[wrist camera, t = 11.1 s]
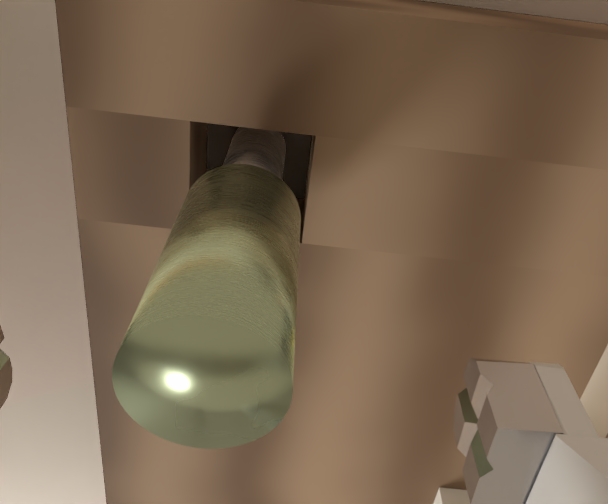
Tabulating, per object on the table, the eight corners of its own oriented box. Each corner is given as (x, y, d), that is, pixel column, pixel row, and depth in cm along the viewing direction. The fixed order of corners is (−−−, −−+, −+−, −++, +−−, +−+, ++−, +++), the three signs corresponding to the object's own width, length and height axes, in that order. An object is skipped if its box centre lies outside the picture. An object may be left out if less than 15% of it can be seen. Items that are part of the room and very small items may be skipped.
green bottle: (211, 183, 20) (116, 440, 10) (214, 96, 18) (106, 305, 9) (299, 193, 20) (283, 455, 10) (309, 108, 18) (302, 326, 9)
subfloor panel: (132, 520, 30) (114, 579, 27) (94, -42, 16) (51, -30, 14) (586, 561, 31) (611, 622, 28) (907, 62, 17) (1010, 91, 15)
